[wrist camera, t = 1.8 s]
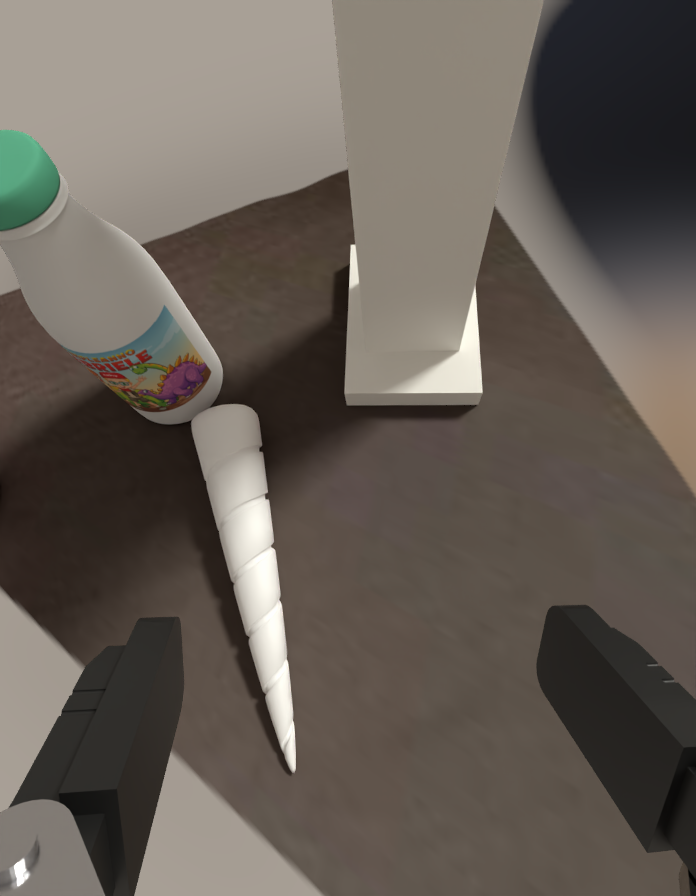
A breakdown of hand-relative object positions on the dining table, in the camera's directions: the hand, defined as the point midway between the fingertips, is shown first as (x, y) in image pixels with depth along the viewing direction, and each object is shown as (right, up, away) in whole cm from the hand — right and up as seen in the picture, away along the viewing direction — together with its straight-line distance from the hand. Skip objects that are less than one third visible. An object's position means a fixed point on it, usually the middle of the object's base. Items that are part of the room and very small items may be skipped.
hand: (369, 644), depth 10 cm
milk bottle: (-14, +9, +29) cm, 34 cm away
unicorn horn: (-6, -4, +24) cm, 25 cm away
